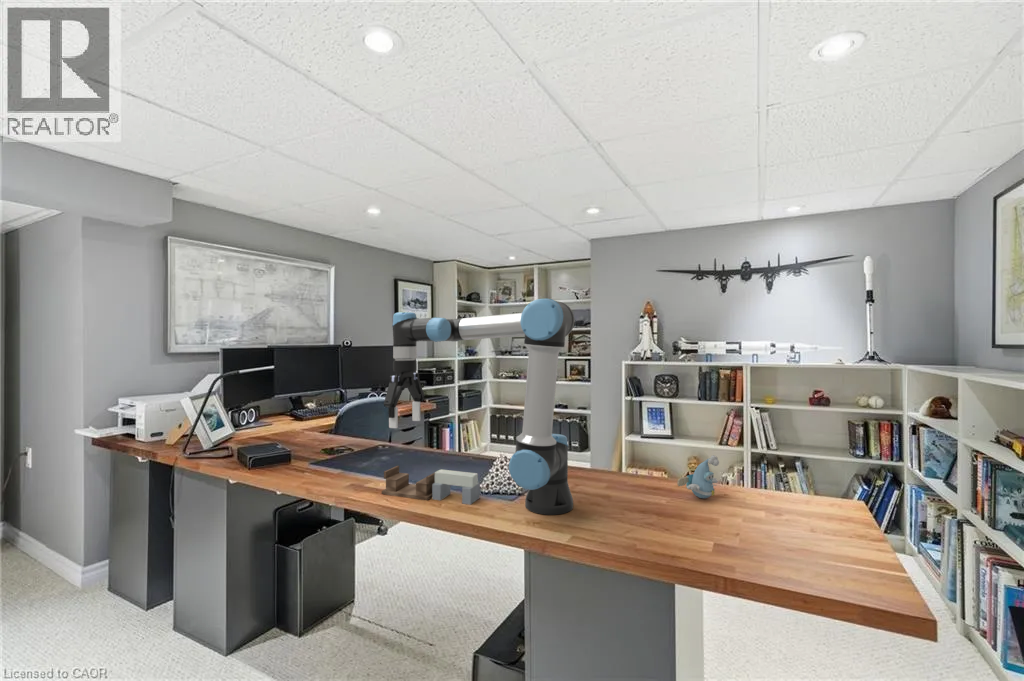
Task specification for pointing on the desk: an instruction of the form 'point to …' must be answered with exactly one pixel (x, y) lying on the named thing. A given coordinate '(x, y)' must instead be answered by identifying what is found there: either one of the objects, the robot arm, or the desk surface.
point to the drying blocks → (467, 492)
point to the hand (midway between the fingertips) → (405, 424)
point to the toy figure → (701, 479)
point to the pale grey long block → (456, 478)
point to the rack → (407, 485)
